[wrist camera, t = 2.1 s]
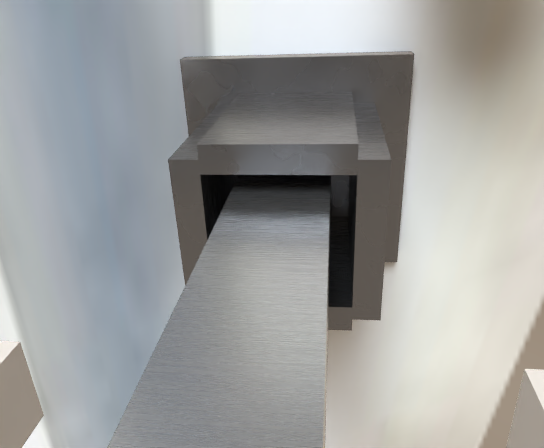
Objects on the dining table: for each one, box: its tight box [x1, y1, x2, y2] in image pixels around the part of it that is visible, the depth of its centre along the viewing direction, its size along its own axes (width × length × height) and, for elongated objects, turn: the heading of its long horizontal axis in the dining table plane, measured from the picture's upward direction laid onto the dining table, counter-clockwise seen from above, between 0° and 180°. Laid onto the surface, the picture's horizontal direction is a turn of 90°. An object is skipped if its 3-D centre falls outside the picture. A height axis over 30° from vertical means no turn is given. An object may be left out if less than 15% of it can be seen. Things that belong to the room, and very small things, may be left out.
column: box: [107, 175, 331, 448], centre depth 18 cm, size 4×5×23 cm
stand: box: [168, 51, 414, 330], centre depth 24 cm, size 12×12×12 cm
